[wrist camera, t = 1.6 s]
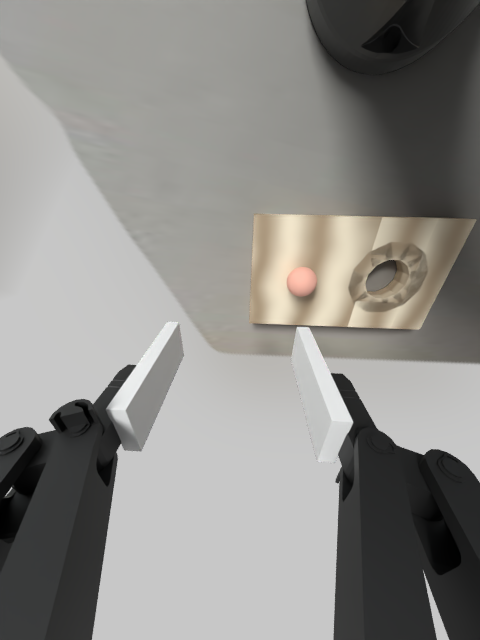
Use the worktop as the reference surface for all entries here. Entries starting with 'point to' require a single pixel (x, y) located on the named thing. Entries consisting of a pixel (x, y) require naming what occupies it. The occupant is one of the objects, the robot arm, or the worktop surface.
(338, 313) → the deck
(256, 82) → the worktop surface
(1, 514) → the robot arm
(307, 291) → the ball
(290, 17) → the worktop surface
